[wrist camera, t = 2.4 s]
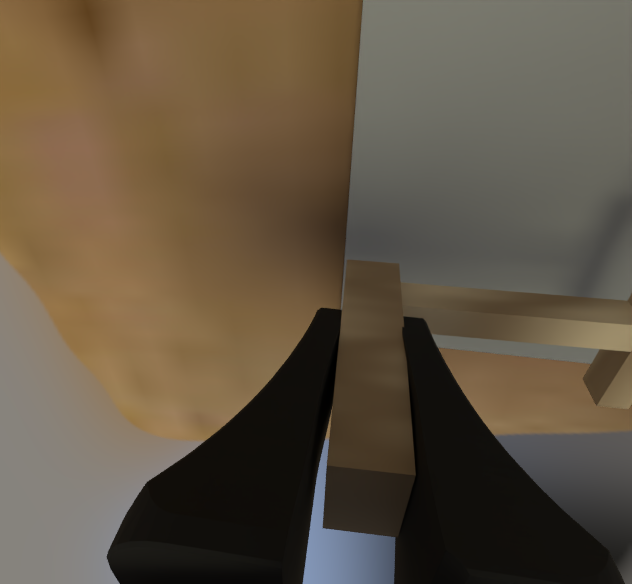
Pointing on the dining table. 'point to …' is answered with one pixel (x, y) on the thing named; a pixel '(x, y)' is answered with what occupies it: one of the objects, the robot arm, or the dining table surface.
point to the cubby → (496, 150)
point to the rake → (393, 387)
